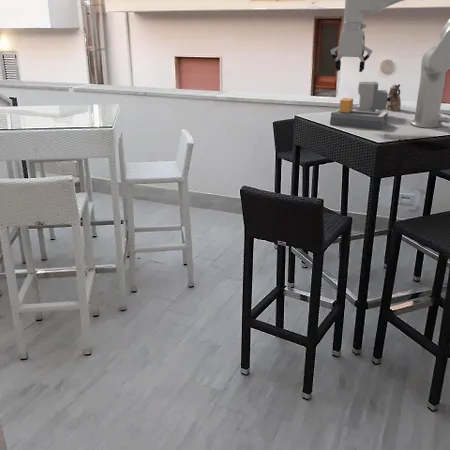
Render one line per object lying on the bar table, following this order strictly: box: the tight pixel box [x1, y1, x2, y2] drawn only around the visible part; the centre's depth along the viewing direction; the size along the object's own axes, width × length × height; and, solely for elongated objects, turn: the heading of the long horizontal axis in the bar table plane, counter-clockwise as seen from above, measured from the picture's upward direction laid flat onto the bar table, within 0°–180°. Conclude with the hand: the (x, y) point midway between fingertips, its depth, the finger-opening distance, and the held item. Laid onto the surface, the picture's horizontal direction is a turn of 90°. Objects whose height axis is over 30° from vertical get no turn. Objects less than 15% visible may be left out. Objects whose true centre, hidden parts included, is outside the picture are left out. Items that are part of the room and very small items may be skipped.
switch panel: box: [329, 107, 389, 130], centre depth 211 cm, size 22×11×5 cm, turn 61°
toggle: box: [339, 97, 354, 113], centre depth 212 cm, size 4×6×7 cm, turn 151°
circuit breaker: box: [355, 81, 390, 112], centre depth 225 cm, size 8×14×15 cm, turn 78°
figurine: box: [385, 83, 402, 112], centre depth 238 cm, size 7×7×12 cm
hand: (349, 71), depth 206 cm, fingers open, 9 cm apart
